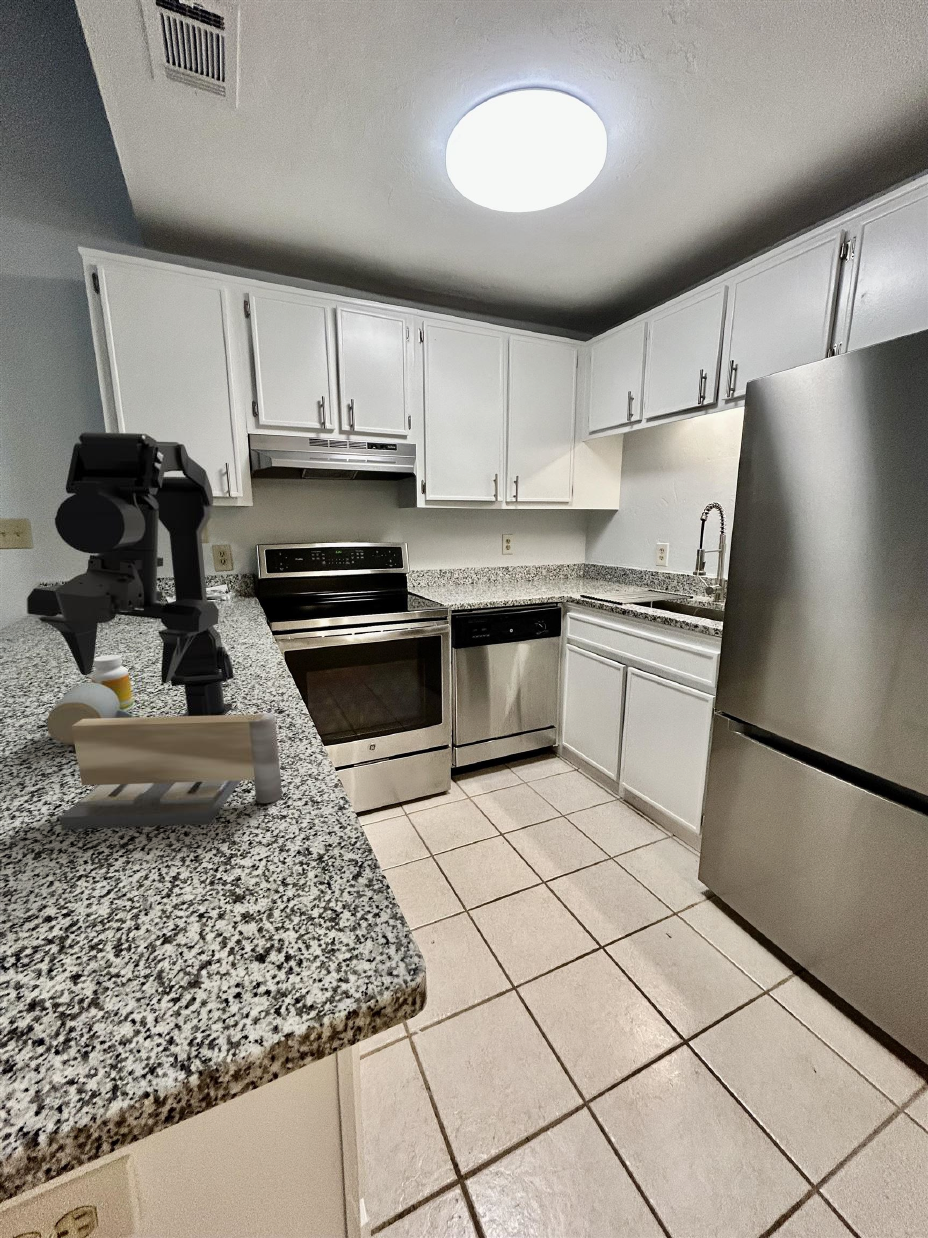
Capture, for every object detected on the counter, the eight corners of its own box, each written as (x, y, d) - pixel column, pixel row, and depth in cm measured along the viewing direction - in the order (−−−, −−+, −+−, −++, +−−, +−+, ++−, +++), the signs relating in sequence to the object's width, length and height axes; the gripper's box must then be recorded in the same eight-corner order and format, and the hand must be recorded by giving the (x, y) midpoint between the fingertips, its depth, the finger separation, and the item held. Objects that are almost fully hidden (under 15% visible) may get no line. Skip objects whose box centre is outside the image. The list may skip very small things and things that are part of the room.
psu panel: (126, 774, 68) (124, 760, 68) (248, 770, 69) (246, 757, 68) (62, 829, 56) (59, 813, 56) (209, 824, 57) (207, 808, 57)
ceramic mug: (46, 751, 74) (38, 702, 73) (68, 729, 82) (61, 684, 80) (130, 742, 78) (124, 694, 76) (143, 721, 85) (138, 677, 84)
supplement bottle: (140, 705, 92) (133, 653, 90) (118, 717, 87) (109, 662, 85) (113, 704, 93) (105, 652, 90) (89, 715, 87) (79, 661, 85)
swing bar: (99, 795, 63) (86, 717, 60) (285, 789, 64) (278, 712, 62) (83, 809, 60) (68, 727, 58) (277, 802, 61) (270, 722, 59)
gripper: (-21, 538, 50) (-16, 691, 52) (175, 561, 51) (170, 710, 53) (63, 537, 61) (64, 663, 63) (223, 556, 62) (217, 679, 64)
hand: (126, 678), depth 61 cm, fingers open, 9 cm apart
